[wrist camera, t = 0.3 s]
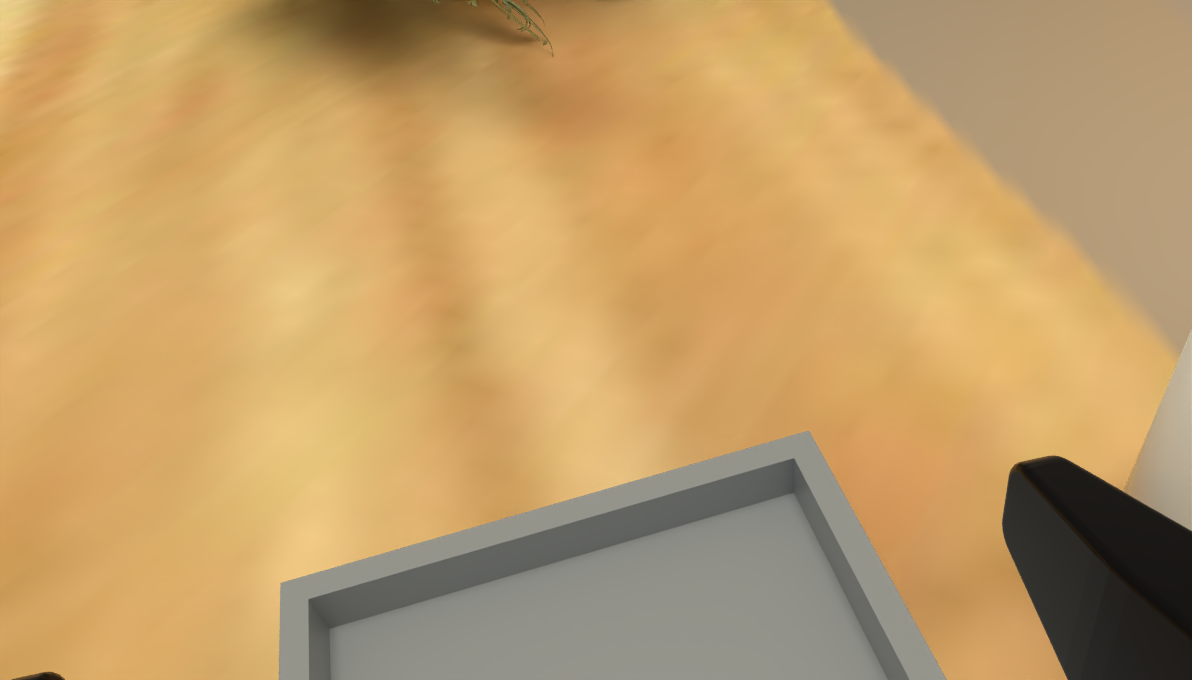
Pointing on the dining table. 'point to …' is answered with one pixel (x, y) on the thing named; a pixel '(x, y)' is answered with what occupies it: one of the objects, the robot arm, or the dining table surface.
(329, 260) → the dining table surface
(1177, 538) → the robot arm
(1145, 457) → the shaker
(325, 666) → the tray
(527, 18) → the plant
